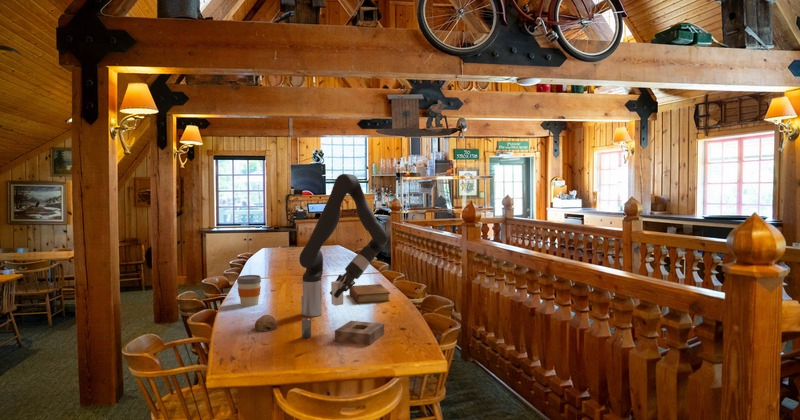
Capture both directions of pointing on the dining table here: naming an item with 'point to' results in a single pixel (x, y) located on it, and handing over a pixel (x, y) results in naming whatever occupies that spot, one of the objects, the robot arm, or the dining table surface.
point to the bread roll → (266, 323)
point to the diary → (369, 293)
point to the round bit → (306, 328)
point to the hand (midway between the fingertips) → (333, 295)
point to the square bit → (334, 288)
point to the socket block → (359, 332)
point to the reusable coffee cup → (249, 289)
